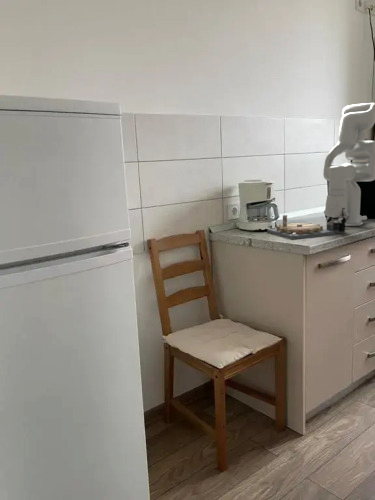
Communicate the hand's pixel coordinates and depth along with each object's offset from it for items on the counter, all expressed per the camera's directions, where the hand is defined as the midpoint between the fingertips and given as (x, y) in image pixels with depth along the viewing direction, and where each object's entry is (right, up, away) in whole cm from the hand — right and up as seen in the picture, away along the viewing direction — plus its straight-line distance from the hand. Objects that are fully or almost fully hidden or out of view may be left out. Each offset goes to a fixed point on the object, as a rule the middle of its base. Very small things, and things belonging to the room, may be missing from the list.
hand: (335, 229), depth 204 cm
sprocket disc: (-17, 0, 0) cm, 17 cm away
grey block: (0, -1, 0) cm, 1 cm away
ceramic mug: (-29, 0, +14) cm, 32 cm away
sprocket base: (-17, -2, +1) cm, 17 cm away
